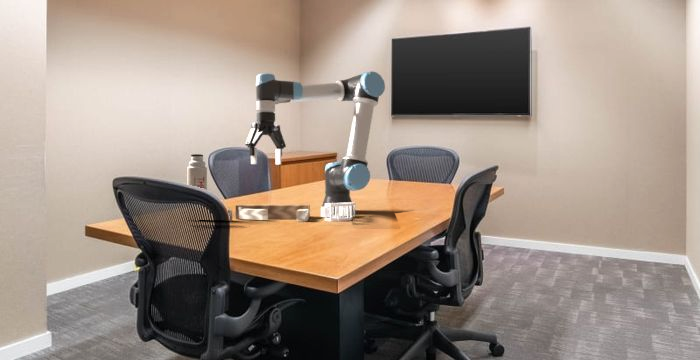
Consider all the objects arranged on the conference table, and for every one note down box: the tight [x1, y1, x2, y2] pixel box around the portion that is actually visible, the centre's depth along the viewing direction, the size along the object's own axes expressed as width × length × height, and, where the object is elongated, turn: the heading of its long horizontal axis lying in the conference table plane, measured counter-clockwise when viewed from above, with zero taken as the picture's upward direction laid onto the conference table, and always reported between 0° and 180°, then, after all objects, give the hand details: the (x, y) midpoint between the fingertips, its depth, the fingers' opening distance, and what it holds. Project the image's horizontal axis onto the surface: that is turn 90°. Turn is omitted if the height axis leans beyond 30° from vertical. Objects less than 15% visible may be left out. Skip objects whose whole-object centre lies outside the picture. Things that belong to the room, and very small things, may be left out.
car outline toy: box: [320, 201, 356, 222], centre depth 223 cm, size 20×11×7 cm, turn 139°
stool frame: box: [227, 204, 311, 223], centre depth 220 cm, size 35×20×6 cm, turn 89°
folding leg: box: [238, 207, 269, 221], centre depth 219 cm, size 15×4×5 cm, turn 59°
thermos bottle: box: [186, 153, 208, 191], centre depth 216 cm, size 8×8×28 cm
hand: (266, 164), depth 209 cm, fingers open, 13 cm apart
